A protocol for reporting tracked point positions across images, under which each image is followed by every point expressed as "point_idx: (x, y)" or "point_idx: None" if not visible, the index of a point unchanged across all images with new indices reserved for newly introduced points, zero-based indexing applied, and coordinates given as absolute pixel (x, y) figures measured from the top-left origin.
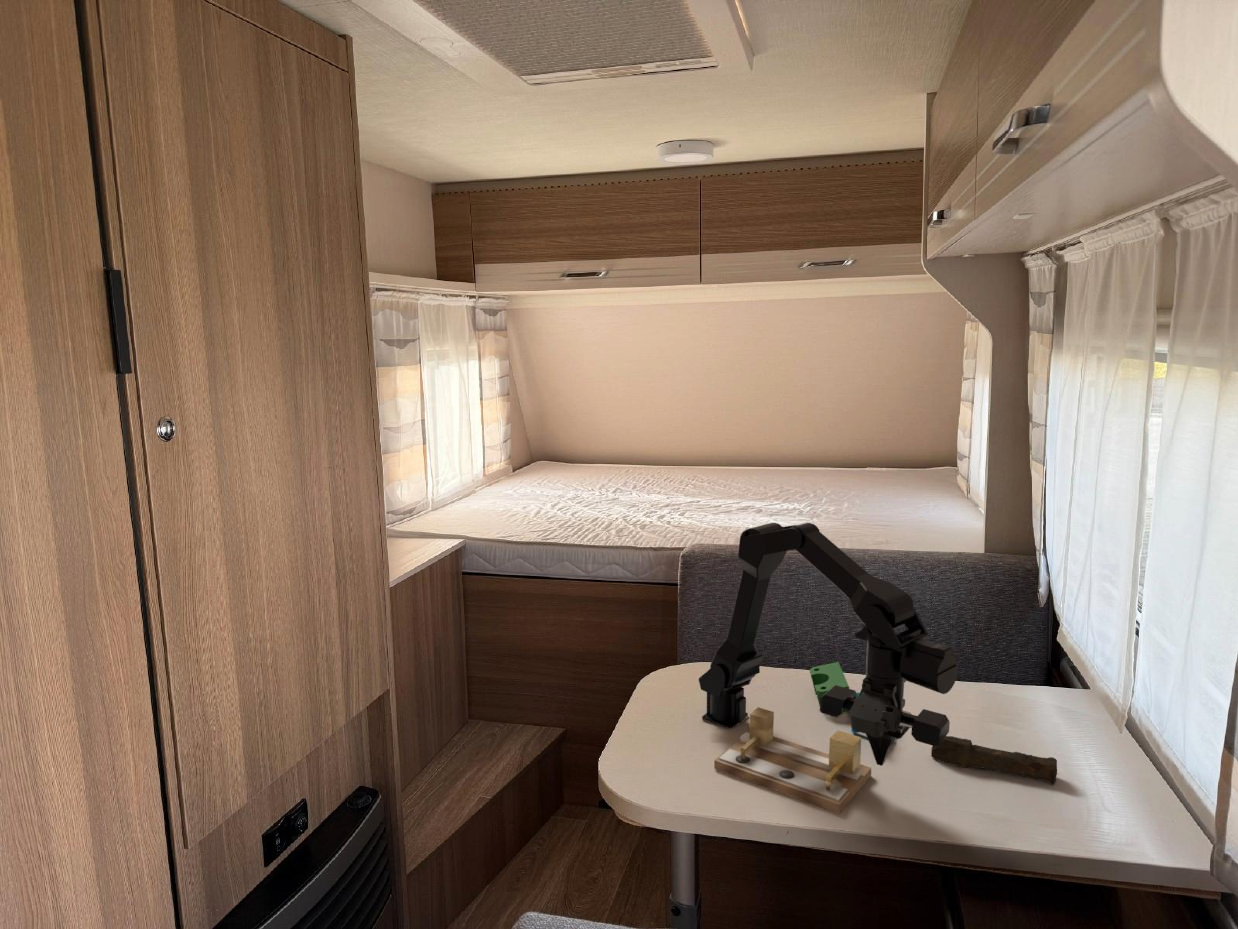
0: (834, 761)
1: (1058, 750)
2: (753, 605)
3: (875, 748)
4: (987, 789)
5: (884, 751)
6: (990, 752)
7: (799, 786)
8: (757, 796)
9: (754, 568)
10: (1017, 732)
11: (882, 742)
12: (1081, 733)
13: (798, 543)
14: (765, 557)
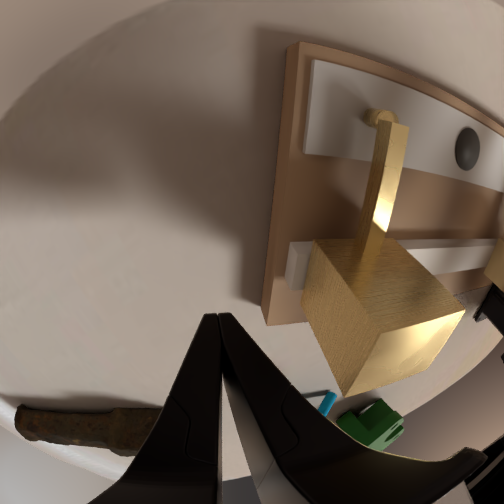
0: (393, 252)
1: (77, 448)
2: None
3: (253, 381)
4: (49, 374)
5: (188, 384)
6: (83, 441)
7: (437, 100)
8: (473, 69)
9: None
10: (128, 460)
11: (208, 442)
12: (88, 464)
13: None
14: None
